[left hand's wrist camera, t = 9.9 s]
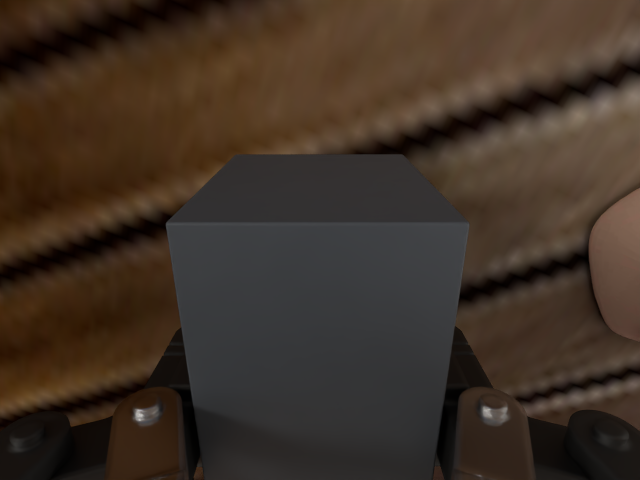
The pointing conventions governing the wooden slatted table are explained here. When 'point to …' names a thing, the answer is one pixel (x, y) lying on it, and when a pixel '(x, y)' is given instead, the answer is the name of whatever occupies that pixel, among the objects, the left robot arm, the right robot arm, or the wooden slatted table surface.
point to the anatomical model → (618, 265)
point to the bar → (318, 316)
